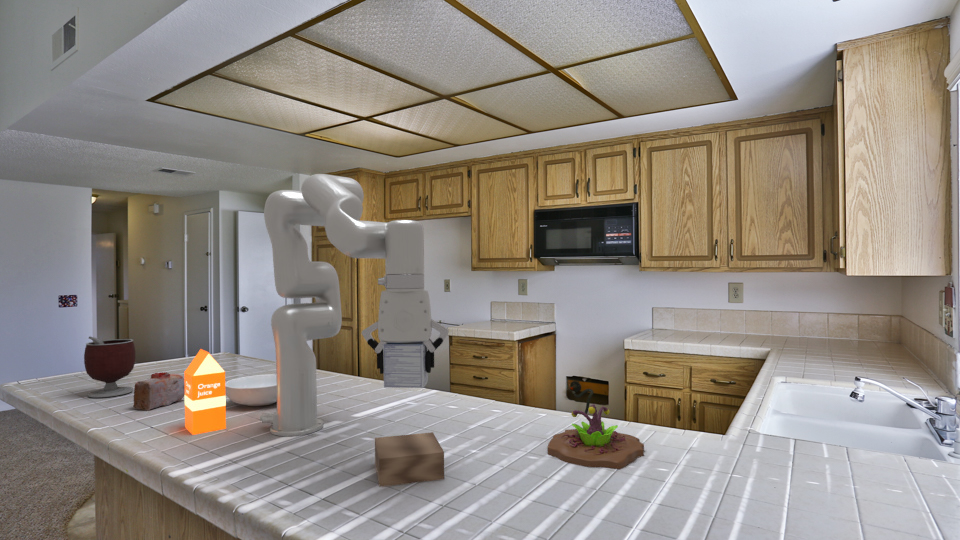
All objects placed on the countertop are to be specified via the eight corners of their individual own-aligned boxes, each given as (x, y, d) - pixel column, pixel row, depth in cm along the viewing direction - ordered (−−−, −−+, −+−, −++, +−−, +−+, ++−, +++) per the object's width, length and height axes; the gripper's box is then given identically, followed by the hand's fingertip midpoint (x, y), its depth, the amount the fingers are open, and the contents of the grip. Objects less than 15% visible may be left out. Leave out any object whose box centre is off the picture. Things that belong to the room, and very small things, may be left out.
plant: (533, 461, 106) (533, 408, 106) (565, 434, 123) (564, 388, 123) (631, 479, 96) (630, 420, 96) (651, 447, 113) (650, 397, 113)
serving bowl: (312, 399, 158) (312, 377, 158) (251, 416, 141) (250, 391, 141) (270, 391, 169) (270, 370, 169) (209, 406, 152) (208, 383, 152)
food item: (168, 398, 162) (168, 367, 162) (189, 399, 160) (189, 368, 160) (130, 410, 148) (129, 376, 148) (152, 411, 147) (152, 377, 147)
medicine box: (428, 383, 101) (427, 340, 101) (423, 389, 97) (422, 343, 97) (389, 382, 102) (389, 340, 102) (383, 388, 98) (382, 343, 98)
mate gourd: (106, 388, 177) (105, 330, 177) (145, 387, 176) (144, 330, 176) (69, 399, 161) (68, 336, 161) (111, 399, 161) (110, 336, 161)
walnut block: (379, 492, 92) (379, 459, 92) (375, 467, 104) (374, 437, 104) (444, 483, 95) (444, 452, 95) (433, 460, 107) (432, 432, 107)
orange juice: (192, 435, 124) (191, 354, 124) (184, 427, 130) (183, 350, 130) (226, 429, 129) (225, 350, 129) (217, 421, 136) (216, 346, 136)
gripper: (356, 284, 95) (357, 377, 95) (449, 283, 96) (450, 375, 96) (363, 283, 103) (364, 369, 103) (449, 282, 103) (450, 367, 104)
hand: (406, 371), depth 99 cm, fingers closed on medicine box, 8 cm apart
